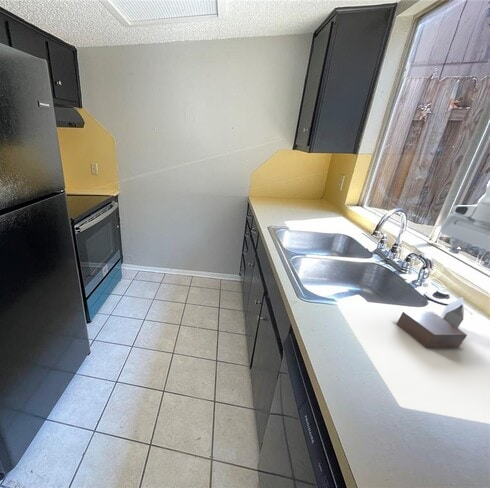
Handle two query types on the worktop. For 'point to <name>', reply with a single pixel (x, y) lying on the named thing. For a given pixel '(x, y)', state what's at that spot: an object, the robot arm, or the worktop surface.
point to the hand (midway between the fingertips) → (469, 259)
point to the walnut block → (431, 330)
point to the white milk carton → (454, 313)
